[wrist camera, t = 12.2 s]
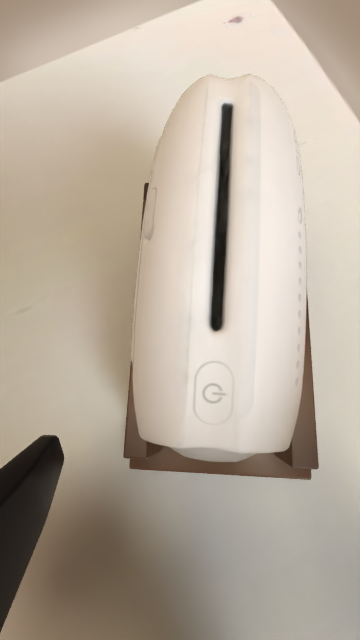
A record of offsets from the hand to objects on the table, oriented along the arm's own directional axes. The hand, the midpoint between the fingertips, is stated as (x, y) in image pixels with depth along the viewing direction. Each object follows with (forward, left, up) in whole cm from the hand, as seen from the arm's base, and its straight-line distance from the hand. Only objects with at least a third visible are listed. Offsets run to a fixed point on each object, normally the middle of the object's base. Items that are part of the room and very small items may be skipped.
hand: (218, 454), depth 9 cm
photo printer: (+5, +2, -9) cm, 10 cm away
